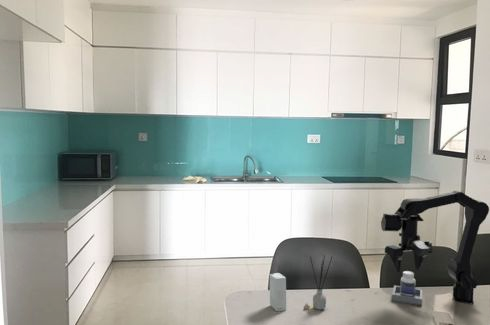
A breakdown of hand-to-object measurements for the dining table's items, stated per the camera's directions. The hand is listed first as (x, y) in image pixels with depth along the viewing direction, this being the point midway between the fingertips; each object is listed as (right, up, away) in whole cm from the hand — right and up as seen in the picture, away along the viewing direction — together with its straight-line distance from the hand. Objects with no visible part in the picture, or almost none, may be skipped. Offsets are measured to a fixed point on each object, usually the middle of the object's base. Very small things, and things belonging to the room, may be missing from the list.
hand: (407, 270), depth 155 cm
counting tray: (0, -11, +1) cm, 11 cm away
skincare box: (-52, -11, -9) cm, 54 cm away
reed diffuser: (-37, -11, -11) cm, 40 cm away
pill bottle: (0, -11, 0) cm, 11 cm away
